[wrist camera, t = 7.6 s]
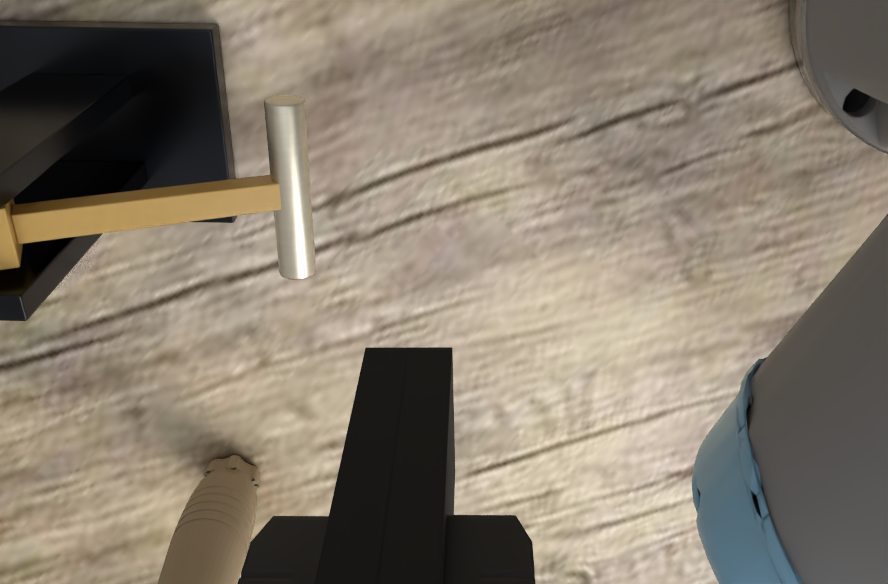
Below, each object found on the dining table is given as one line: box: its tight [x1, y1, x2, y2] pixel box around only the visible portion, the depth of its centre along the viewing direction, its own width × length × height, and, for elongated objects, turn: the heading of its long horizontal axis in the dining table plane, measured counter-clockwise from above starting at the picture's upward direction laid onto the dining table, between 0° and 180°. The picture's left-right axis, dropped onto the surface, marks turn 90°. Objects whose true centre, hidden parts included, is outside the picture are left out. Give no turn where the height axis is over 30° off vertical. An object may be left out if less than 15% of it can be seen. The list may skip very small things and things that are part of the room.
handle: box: [158, 455, 260, 584], centre depth 43 cm, size 5×6×15 cm
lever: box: [0, 95, 316, 280], centre depth 30 cm, size 13×7×2 cm, turn 89°
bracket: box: [0, 20, 238, 321], centre depth 33 cm, size 12×9×14 cm
